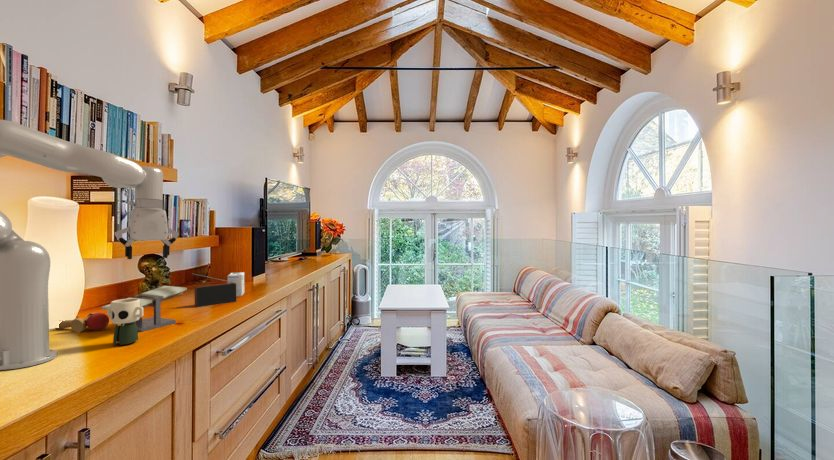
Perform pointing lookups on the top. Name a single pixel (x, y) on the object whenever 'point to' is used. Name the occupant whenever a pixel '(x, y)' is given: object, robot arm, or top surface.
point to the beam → (157, 295)
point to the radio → (215, 294)
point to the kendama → (87, 322)
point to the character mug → (125, 319)
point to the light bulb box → (237, 282)
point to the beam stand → (153, 318)
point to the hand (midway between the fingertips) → (147, 258)
